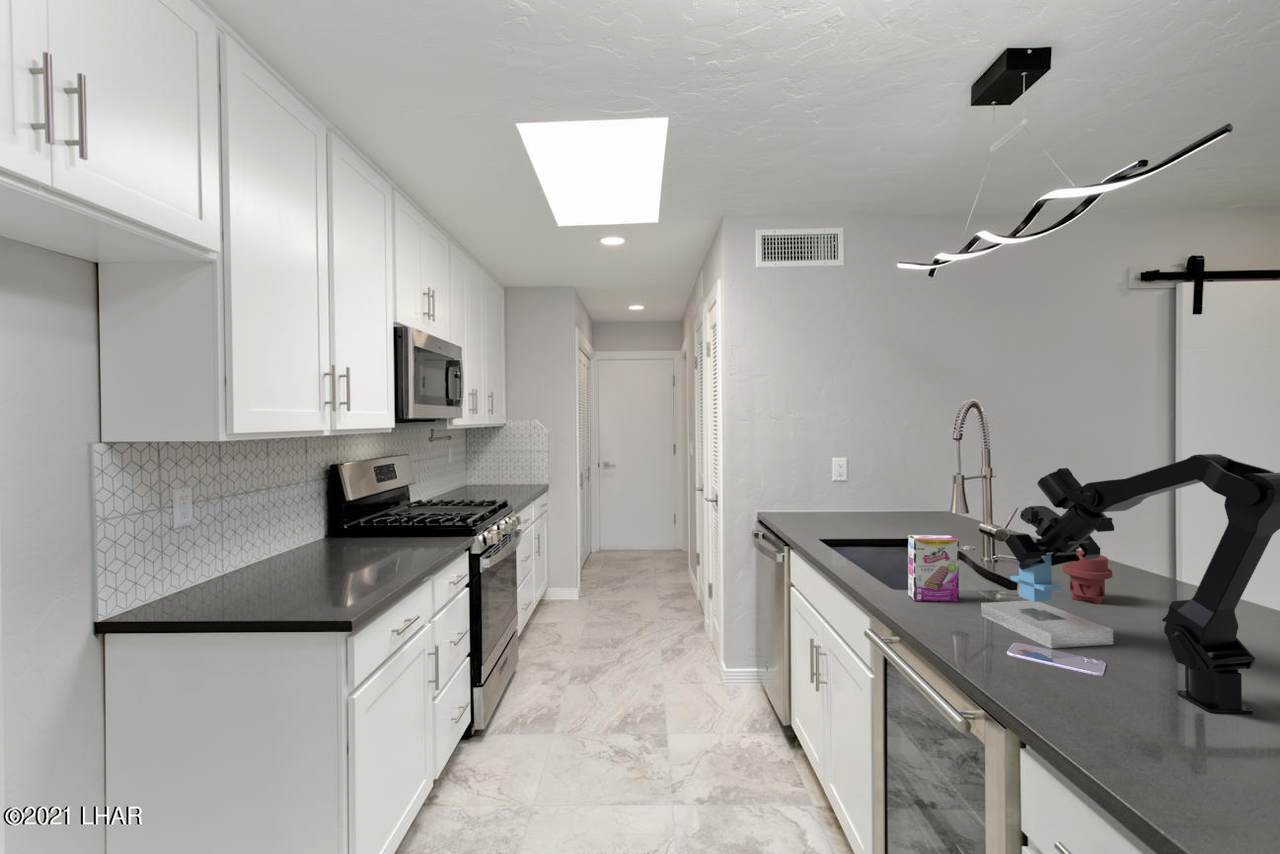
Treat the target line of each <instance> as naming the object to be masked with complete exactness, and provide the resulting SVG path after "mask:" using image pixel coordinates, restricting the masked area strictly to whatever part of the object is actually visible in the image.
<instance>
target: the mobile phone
mask: <svg viewBox="0 0 1280 854" xmlns="http://www.w3.org/2000/svg"><path fill="white" fill-rule="evenodd" d="M1006 654H1007V655H1008V656H1010V657H1014V658H1018V659H1023V660H1027V661H1031V662H1035V663H1040V664H1045V665H1050V666H1053V667H1057V668H1061V669H1067V670H1070V671H1071V670H1072V671H1075V672H1080V673H1085V674H1088V675H1091V676H1092V675H1093V676H1099V677H1101V676H1102V677H1103V675H1104V674H1105V670H1106V667H1107V664H1106V662H1105V661H1103V660H1101V659H1095V658H1091V657H1088V656H1087V657H1086V656H1082V655H1077V654H1074V653H1073V654H1072V653H1067V652H1064V651H1063V652H1062V651H1058V650H1055V649H1051V648H1045V647H1040V646H1035V645H1031V644H1026V643H1022V642H1021V643H1020V642H1014V643H1012V644H1011V646H1010V647H1009V648H1008V650H1007V651H1006Z"/></svg>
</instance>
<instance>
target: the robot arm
mask: <svg viewBox="0 0 1280 854" xmlns="http://www.w3.org/2000/svg"><path fill="white" fill-rule="evenodd" d="M1200 483H1202V484H1204V485H1205V486H1206V487H1207V488H1209V489H1210V490H1211V491H1212V492H1214V493H1216V494H1219V495H1221V496H1223V497H1225V498H1224V499H1225V500H1224V509H1225V513H1226V517H1227V525H1226V527H1225V530H1224V531H1223V534H1222V536H1221V538H1220V540H1219V542H1218V545H1217V547H1216V548H1215V551H1214V552H1213V555H1212V557H1211V558H1210V562H1209V563H1208V565H1207V568H1206V570H1205V572H1204V574H1203V576H1202V579H1201V581H1200V582H1199V585H1198V587H1197V589H1196V592H1195V593H1194V595H1193V597H1192V598H1191V599H1184V600H1180V599H1179V600H1173V601H1171V603H1170V604H1169V607H1168V611H1167V614H1166V616H1165V617H1163V618H1162V619H1161V621H1162V622H1164V623H1165V624H1164V627H1163V633H1164V635H1165V636H1166V638H1167V640H1168V642H1169V643H1168V644H1169V645H1170V648H1171V651H1172V653H1173V656H1174V660H1175V662H1176V663H1178V664H1181V665H1183V666H1184V676H1185V680H1184V681H1185V682H1184V683H1185V685H1184V686H1185V687H1184V689H1185V690H1183V689H1179V690H1178V689H1177V690H1176V695H1178V696H1180V697H1182V698H1184V699H1185V700H1187V701H1189V702H1191V703H1193V705H1196V706H1198V707H1200V708H1202V709H1204V710H1205V711H1207V712H1209V713H1227V714H1228V713H1230V714H1231V713H1232V714H1253V713H1254V711H1253V709H1252V708H1250V707H1248V706H1246V705H1244V704H1243V692H1242V691H1243V686H1242V684H1243V683H1242V673H1241V672H1239V670H1251V669H1252V667H1253V665H1254V664H1255V662H1256V658H1255V656H1254V655H1253V654H1252V652H1251V651H1249V649H1248V648H1247V647H1246V646H1245V645H1244V644H1243V643H1242V642H1241V641H1240V639H1239V638H1238V637H1237V634H1238V631H1239V624H1238V619H1237V616H1236V608H1237V605H1238V604H1239V601H1240V599H1241V598H1242V596H1243V594H1244V592H1245V590H1246V589H1247V586H1248V584H1249V583H1250V581H1251V578H1252V577H1253V575H1254V572H1255V571H1256V568H1257V566H1258V565H1259V563H1260V561H1261V559H1262V557H1263V555H1264V553H1265V551H1266V549H1267V547H1268V545H1269V543H1270V541H1271V540H1272V539H1271V538H1272V537H1273V535H1274V534H1275V533H1276V532H1277V531H1279V530H1280V472H1274V471H1272V470H1269V469H1266V468H1263V467H1259V466H1255V465H1252V464H1249V463H1248V464H1247V463H1244V462H1242V461H1238V460H1234V459H1233V458H1230V457H1229V458H1228V457H1226V456H1224V455H1222V454H1218V453H1211V454H1210V453H1209V454H1207V453H1206V454H1203V453H1202V454H1201V453H1200V454H1193V455H1191V456H1190V457H1187V458H1185V459H1182V460H1180V461H1177V462H1174V463H1170V464H1166V465H1165V466H1160V467H1158V468H1155V469H1154V468H1153V469H1152V470H1148V471H1145V472H1142V473H1139V474H1135V475H1133V476H1130V477H1126V478H1118V479H1109V480H1101V481H1092V482H1087V483H1085V484H1084V485H1082V484H1081V483H1080V482H1079V481H1078V480H1077V478H1076V477H1075V476H1074V474H1073V472H1072V471H1071V470H1070V469H1069V468H1068V467H1064V468H1062V467H1059V468H1058V469H1056V471H1052V472H1050V473H1048V474H1046V475H1045V476H1043V477H1040V479H1039V480H1038V481H1037V484H1036V485H1037V486H1038V488H1039V489H1040V490H1041V492H1042V493H1043V494H1044V496H1046V498H1047V499H1048V501H1049V502H1050V503H1051V504H1052V506H1054V508H1056V509H1057V508H1058V509H1063V510H1066V511H1065V512H1064V513H1062V515H1060V514H1058V513H1057V512H1055V511H1054V510H1053V509H1051V508H1050V507H1047V506H1045V505H1033V506H1028V507H1027V506H1026V507H1024V509H1022V510H1021V511H1020V514H1019V515H1020V516H1019V517H1020V519H1021V520H1022V521H1023V522H1025V523H1026V524H1028V525H1031V526H1032V527H1034V528H1035V529H1036V530H1035V531H1034V533H1036V535H1037V536H1038V537H1040V538H1036V539H1033V538H1032V537H1031V536H1030V534H1028V533H1024V532H1022V533H1010V534H1008V536H1007V537H1006V538H1005V539H1004V543H1005V545H1006V546H1007V547H1008V548H1009V550H1010V552H1011V553H1012V555H1013V556H1014V557H1015V559H1016V560H1017V562H1018V568H1019V567H1020V569H1021V570H1024V569H1028V568H1031V567H1034V566H1037V565H1041V564H1044V563H1045V561H1044V560H1043V559H1042V558H1043V557H1045V556H1046V555H1047V554H1049V553H1051V567H1055V566H1059V565H1065V564H1067V563H1070V562H1076V561H1079V560H1080V558H1079V557H1078V556H1077V553H1078V551H1079V550H1083V552H1084V554H1083V555H1082V557H1083V558H1084V560H1087V559H1095V558H1097V557H1098V556H1099V555H1101V547H1100V546H1099V545H1098V543H1097V542H1096V540H1094V538H1093V537H1092V536H1091V534H1093V533H1094V532H1095V531H1096V532H1097V533H1104V532H1114V531H1115V526H1114V525H1115V524H1114V523H1113V518H1112V517H1108V516H1107V515H1106V514H1105V513H1108V512H1109V513H1110V512H1124V511H1128V510H1130V509H1131V508H1134V507H1136V506H1138V505H1140V504H1141V503H1142V502H1143V501H1144V500H1146V499H1147V498H1149V497H1153V496H1156V495H1159V494H1160V495H1161V494H1164V493H1167V492H1171V491H1175V490H1178V489H1181V488H1185V487H1188V486H1193V485H1196V484H1200ZM1034 540H1035V541H1034ZM1019 562H1020V563H1019ZM1208 653H1209V654H1208ZM1210 653H1213V654H1210Z"/></svg>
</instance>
